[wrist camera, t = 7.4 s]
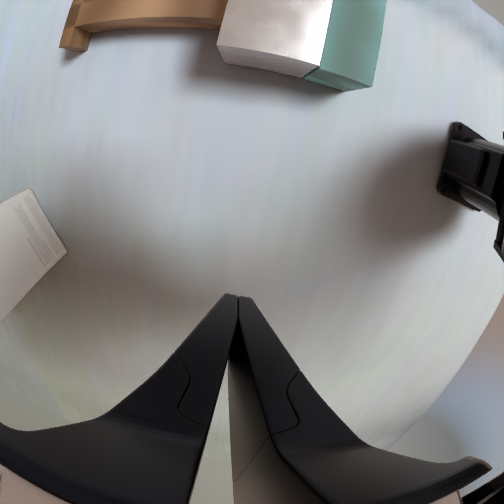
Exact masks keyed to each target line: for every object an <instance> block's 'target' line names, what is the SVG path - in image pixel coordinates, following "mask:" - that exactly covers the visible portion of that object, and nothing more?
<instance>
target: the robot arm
mask: <svg viewBox="0 0 504 504" xmlns="http://www.w3.org/2000/svg"><path fill="white" fill-rule="evenodd" d="M458 126H459V129H458ZM503 139H504V132H503ZM442 187H443V189H442ZM441 189H442V190H441ZM437 192H438V193H440V194H442V195H444V196H446V197H448V198H451V199H453V200H455V201H457V202H460V203H462V204H464V205H466V206H468V207H470V208H472V209H474V210H476V211H479V212H480V211H481V210H482V211H484V212H485V213H487V214H488V215H490V216H492V217H493V218H495V219H496V220H498V221H499V224H498V230H497V236H496V240H495V241H494V246H493V247H494V249H495V250H496V251H497V253H498V254H499V256H500V257H501V259H502V260H503V262H504V146H502V145H499V144H496V143H492V142H489V141H487V140H486V139H484V138H483V137H482V136H480V135H479V134H477V133H476V132H474V131H473V130H472V129H470V128H469V127H467V126H466V125H464V124H463V123H461V122H455V123H454V125H453V129H452V133H451V138H450V142H449V146H448V150H447V153H446V157H445V161H444V164H443V168H442V171H441V175H440V178H439V181H438V184H437ZM227 361H228V394H229V420H230V443H231V462H232V478H233V483H234V484H233V495H234V504H504V472H502V473H501V474H499V475H498V476H496V477H495V478H493V479H492V480H490V481H489V482H487V483H485V484H484V485H482V486H480V487H479V488H477V489H475V490H474V491H472V492H470V493H468V494H466V495H465V496H463V497H461V495H460V492H459V489H461V488H463V487H465V486H466V485H468V484H470V483H471V482H473V481H474V480H476V479H478V478H480V477H481V476H482V475H484V474H486V473H487V472H489V471H490V470H491V469H492V467H491V466H490V465H489V464H488V463H487V462H485V461H484V460H481V459H478V458H475V457H471V456H467V457H464V458H462V459H460V460H458V461H455V462H452V463H434V462H429V461H424V460H420V459H416V458H411V457H407V456H404V455H399V454H396V453H392V452H389V451H385V450H382V449H379V448H376V447H373V446H371V445H369V444H367V443H365V442H364V441H362V440H361V439H360V438H359V437H357V436H356V435H355V434H354V433H353V432H352V431H351V430H350V428H349V427H348V426H347V425H346V424H345V423H344V422H343V421H342V420H341V419H340V418H339V417H338V416H337V415H336V414H335V412H334V411H333V410H332V409H331V408H330V407H329V406H328V405H327V404H326V402H325V401H324V400H323V399H322V398H321V397H320V395H319V394H318V393H317V392H316V391H315V389H314V388H313V387H312V385H311V384H310V383H309V381H308V380H307V379H306V377H305V376H304V374H303V373H302V371H300V369H299V367H298V366H297V364H296V363H295V362H294V360H293V359H292V357H291V356H290V354H289V353H288V351H287V350H286V348H285V347H284V346H283V344H282V343H281V341H280V340H279V338H278V337H277V335H276V334H275V332H274V331H273V329H272V328H271V326H270V325H269V324H268V322H267V321H266V319H265V318H264V316H263V315H262V313H261V312H260V310H259V309H258V307H257V306H256V304H255V303H254V301H253V300H252V298H250V297H244V296H239V297H238V296H237V295H233V294H227V293H226V294H224V295H223V296H222V297H221V299H220V300H219V301H218V302H217V303H216V304H215V305H214V307H213V308H212V309H211V310H210V311H209V312H208V314H207V315H206V316H205V317H204V318H203V319H202V321H201V322H200V323H199V324H198V325H197V326H196V327H195V329H194V330H193V331H192V332H191V333H190V334H189V336H188V337H187V338H186V339H185V340H184V341H183V342H182V344H181V345H180V346H179V347H178V348H177V349H176V351H175V353H173V354H172V355H171V356H170V357H169V358H168V360H167V361H166V362H165V363H164V364H163V365H162V366H161V367H160V368H159V369H158V370H157V371H156V372H155V373H154V374H153V375H152V376H151V377H150V378H149V379H147V380H146V381H145V382H144V383H143V384H142V385H140V386H139V387H138V388H137V389H136V390H134V391H133V392H132V393H131V394H130V395H128V396H127V397H126V398H125V399H123V400H122V401H121V402H120V403H119V404H117V405H116V406H115V407H114V408H112V409H111V410H110V411H108V412H107V413H105V414H104V415H102V416H100V417H98V418H95V419H92V420H88V421H84V422H80V423H75V424H70V425H65V426H60V427H55V428H49V429H43V430H36V431H21V430H16V429H12V428H9V427H7V426H5V425H3V424H2V423H1V422H0V464H1V465H2V466H3V469H2V472H1V475H0V504H189V503H190V500H191V496H192V492H193V489H194V485H195V481H196V477H197V474H198V470H199V466H200V462H201V459H202V455H203V451H204V448H205V444H206V440H207V436H208V433H209V429H210V425H211V421H212V418H213V414H214V410H215V406H216V403H217V399H218V395H219V391H220V387H221V384H222V380H223V376H224V372H225V369H226V365H227Z"/></svg>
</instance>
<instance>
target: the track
mask: <svg viewBox="0 0 504 504" xmlns="http://www.w3.org/2000/svg"><path fill="white" fill-rule="evenodd" d="M227 3H228V0H73V2H72V5H71V8H70V11H69V14H68V17H67V20H66V23H65V27H64V30H63V34H62V37H61V41H60V45H59V48H64V49H68V50H73V51H84V50H87V48H88V44H89V40H90V36H91V33H94V32H101V31H109V30H119V29H131V28H151V27H181V28H201V29H214V30H220V28H221V25H222V21H223V17H224V14H225V10H226V6H227ZM385 8H386V0H333V3H332V8H331V13H330V17H329V22H328V27H327V32H326V37H325V42H324V46H323V51H322V56H321V60H320V65H319V66H318V67H316V68H315V69H313V70H312V71H310V72H309V73H307V74H306V75H305V76H304V77H303V79H305V80H309V81H312V82H316V83H319V84H323V85H326V86H329V87H332V88H336V89H339V90H342V91H345V92H346V91H351V90H357V89H362V88H368V87H372V84H373V79H374V74H375V69H376V64H377V59H378V53H379V48H380V42H381V36H382V29H383V23H384V16H385Z"/></svg>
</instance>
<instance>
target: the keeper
mask: <svg viewBox="0 0 504 504" xmlns="http://www.w3.org/2000/svg"><path fill="white" fill-rule="evenodd" d="M332 3H333V0H228V3H227V6H226V10H225V14H224V17H223V21H222V25H221V28H220V32H219V36H218V40H217V44H216V45H217V47H218V49H219V51H220V54H221V56H222V58H223V60H224V62H225V63H228V64H235V65H242V66H248V67H254V68H259V69H264V70H269V71H274V72H279V73H283V74H287V75H291V76H295V77H299V78H302V77H303V76H305V75H306V74H307V73H309V72H310V71H312V70H313V69H315V68H316V67H318V66H319V65H320V60H321V56H322V51H323V46H324V42H325V37H326V32H327V27H328V22H329V17H330V13H331V8H332Z"/></svg>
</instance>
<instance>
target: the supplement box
mask: <svg viewBox="0 0 504 504" xmlns="http://www.w3.org/2000/svg"><path fill="white" fill-rule="evenodd" d="M66 253H67V250H66V248H65V247H64V245H63V244H62V242H61V240H60V239H59V237H58V236H57V234H56V232H55V231H54V229H53V227H52V226H51V224H50V222H49V221H48V219H47V217H46V215H45V214H44V212H43V210H42V209H41V207H40V205H39V203H38V201H37V199H36V197H35V196H34V194H33V192H32V190H31V189H30V188H28V189H26V190H24V191H22V192H20V193H18V194H16V195H14V196H13V197H11V198H9V199H7V200H6V201H4V202H2V203H0V325H1V323H2V322H3V321H4V320H5V318H6V317H7V316H8V315H9V314H10V312H11V311H12V310H13V309H14V308H15V307H16V305H17V304H18V303H19V302H20V301H21V300H22V298H23V297H24V296H25V295H26V294H27V293H28V292H29V291H30V290H31V289H32V287H33V286H34V285H35V284H36V283H37V282H38V281H39V280H40V279H41V278H42V277H43V276H44V275H45V274H46V273H47V272H48V271H49V270H50V269H51V268H52V267H53V266H54V265H55V264H56V263H57V262H58V261H59V260H60V259H61V258H62V257H63V256H64V255H65V254H66Z"/></svg>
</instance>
